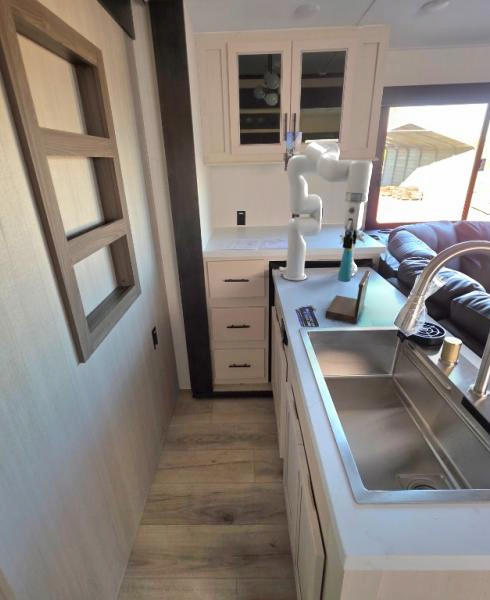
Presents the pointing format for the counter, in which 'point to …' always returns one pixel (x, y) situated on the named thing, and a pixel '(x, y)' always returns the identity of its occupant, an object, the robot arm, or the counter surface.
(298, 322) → the counter surface
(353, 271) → the flower vase
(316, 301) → the counter surface
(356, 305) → the dark wooden bookend
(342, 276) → the tube
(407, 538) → the counter surface
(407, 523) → the counter surface
